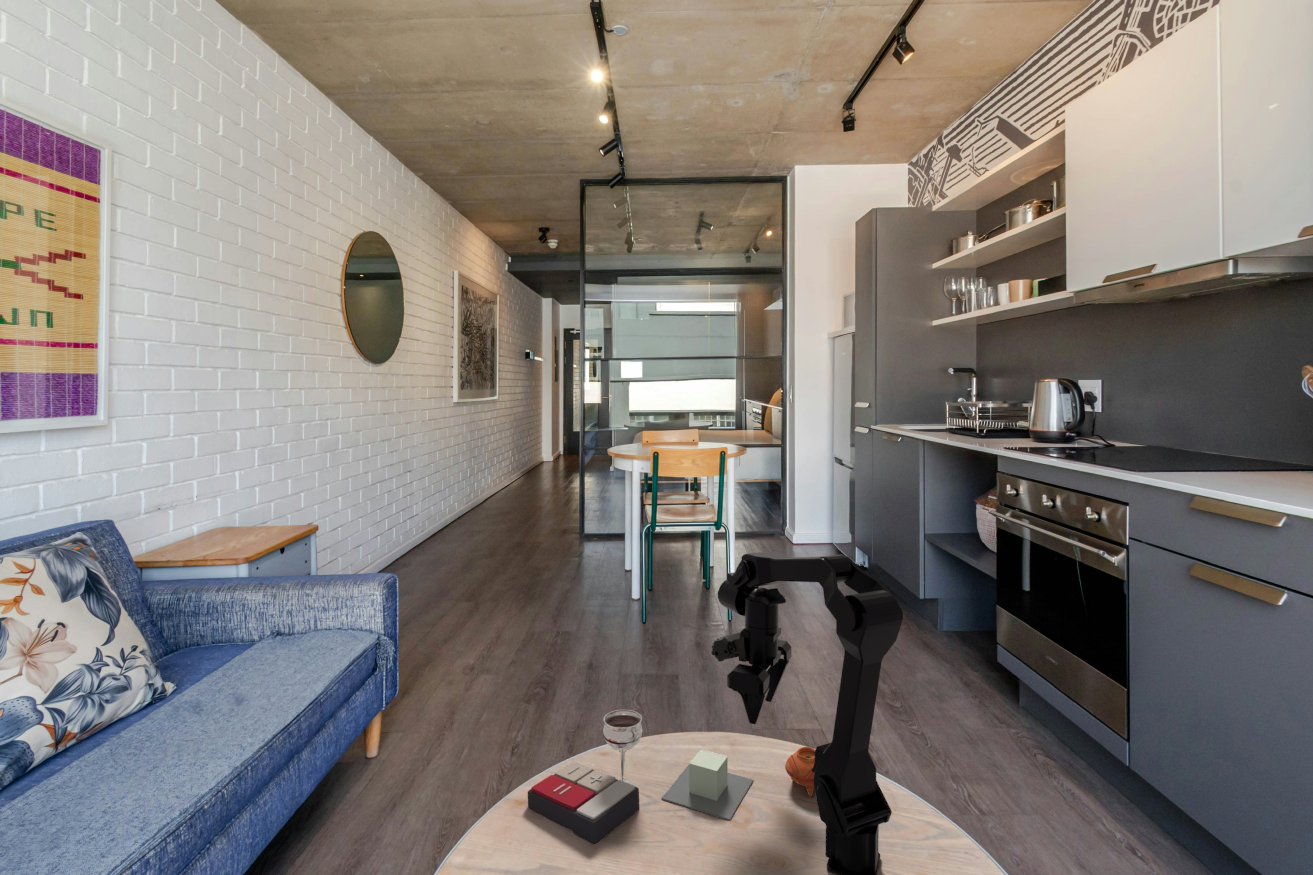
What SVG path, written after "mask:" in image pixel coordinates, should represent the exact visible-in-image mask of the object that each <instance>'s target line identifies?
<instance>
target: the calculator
mask: <svg viewBox="0 0 1313 875" xmlns="http://www.w3.org/2000/svg"><path fill="white" fill-rule="evenodd" d="M527 808H528V809H529V810H531V811H533V812H534V813H537V814H538V815H540V816H542V817H544V818H545V819H547V820H549V821H551V822H553V823H554V824H557V825H559V826H562V827H563V828H564V829H567V830H568V831H570V832H572V833H573V834H574V835H575V836H577V837H579V838H581V839H582V840H584V841H586V842H588V843H589V844H590V845H591V844H592V845H595V846H596V845H597V844H598V843H600V842H601V841H602V840H604V838H606V837H607V836H609V835H610V834H611V833H612V832H613V831H615V830H616V829H617V828H618V827H620V826H621V825H622V824H623V823H624V822H626V821H627V820H628V819H630V818H631V817H632V816H633V815H634V814H636V813H637V812H638V811H640V788H638V786H637V787H635V786H633V785H631V784H628V783H626V782H623V781H621V780H619V779H617V778H616V777H615V776H614V775H610V774H609V773H608V774H607V773H605V772H603V771H600V770H599V769H593V767H590V766H587V765H585V764H582V763H580V762H578V761H575V760H574V761H572V762H570V763H568V764H567V765H565V766H563V767H562V768H560V769H558V770H556V771H555V772H554V774H551V775H549V776H547V777H545V778H544V779H542V780H541V781H539V782H537V783H535V785H533V786H531V789H529V790H527Z"/></svg>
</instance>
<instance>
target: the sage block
mask: <svg viewBox="0 0 1313 875" xmlns="http://www.w3.org/2000/svg"><path fill="white" fill-rule="evenodd" d="M728 761H729V760H728V756H727V755H724V754H720V753H716V752H712V751H709V750H706V749H700V750H699V751H698V752H697V753H696V755H694V757H693V759H691V761H690V762H689V763H688V765H689V793H692V794H696V795H699V796H702V797H706V798H709V799H712V800H715V801H717V800H718V798H719V797H720V795H721V794H722V792H723V791H724V789H725V788H726V786H727V778H728V773H729V772H728V770H729V769H728V766H729V765H728Z"/></svg>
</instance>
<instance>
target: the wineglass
mask: <svg viewBox="0 0 1313 875" xmlns="http://www.w3.org/2000/svg"><path fill="white" fill-rule="evenodd" d="M642 721H643V716H642V715H641V714H640V713H639V712H637V711H635V710H631V709H616V710H612V711H610V712H608V713H606V714H605V715H604V716H603V723H604V725H603V729H602V734H603V738H604V740H605V743H606V744H607V745H608V746H609V747H611V748H612V749H613V750H615V751H618V753H620V771H621V773H620V775H621V776H620V777H621V779H618V780H621V781H623V782H626V783H628V784H631V785H633V786H635V787H637V788H638V786H637V784H636V782H635V781H634V780H631V779H625V761H626V759H625V758H626V752H627V751H629V750H632V749H634V747H635V746H636V745H637V744H638V743H640V741H641V738H642V735H643V727H642Z"/></svg>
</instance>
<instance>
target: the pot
mask: <svg viewBox="0 0 1313 875" xmlns="http://www.w3.org/2000/svg"><path fill="white" fill-rule="evenodd" d="M815 750H816V748H813V747H810V746H803V747H800V748H798V749H797V750H796V751H795V752H794V753H792V754H791V755H790V756H789V757H788V758H787V760H786V761H785V765H784V768H785V771H786V773H787V774H788V776H789V777H790V778H791V780H792V781H793V783H797V784H798V785H801V786H804V787H805V789H806V791H807V793H808V796H809V797H812V796H813V793H814V791H815V789H814V774H815V773H814V772H812V768H813V767H814V763H815Z"/></svg>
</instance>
